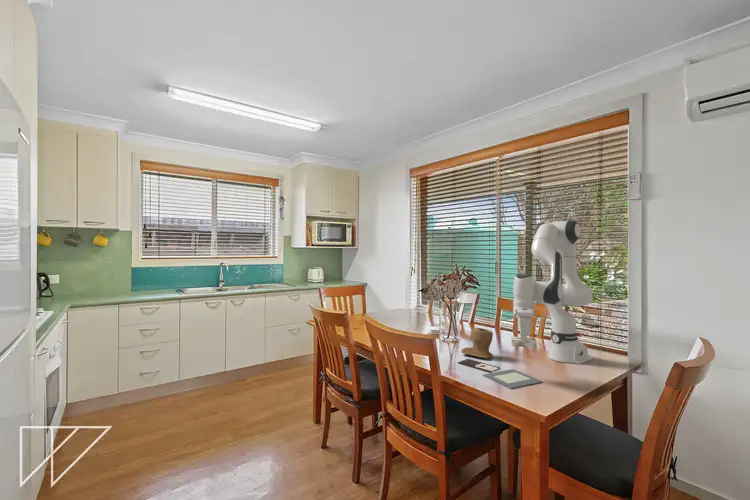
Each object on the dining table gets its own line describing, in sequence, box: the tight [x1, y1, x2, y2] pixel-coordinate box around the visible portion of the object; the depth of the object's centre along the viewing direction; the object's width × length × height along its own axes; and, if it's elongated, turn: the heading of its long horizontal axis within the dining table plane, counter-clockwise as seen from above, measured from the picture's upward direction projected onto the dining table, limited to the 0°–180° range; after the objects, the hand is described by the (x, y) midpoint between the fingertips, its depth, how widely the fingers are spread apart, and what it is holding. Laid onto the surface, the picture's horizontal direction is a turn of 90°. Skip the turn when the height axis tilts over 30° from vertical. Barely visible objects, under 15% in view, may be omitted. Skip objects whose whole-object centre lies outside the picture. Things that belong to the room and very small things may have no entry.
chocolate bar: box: [457, 358, 501, 374], centre depth 177 cm, size 9×1×18 cm
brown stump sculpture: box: [461, 327, 494, 359], centre depth 193 cm, size 15×12×15 cm
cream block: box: [510, 336, 537, 349], centre depth 162 cm, size 10×6×3 cm, turn 72°
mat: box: [482, 368, 544, 390], centre depth 160 cm, size 18×17×1 cm
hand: (523, 340), depth 162 cm, fingers closed on cream block, 6 cm apart
